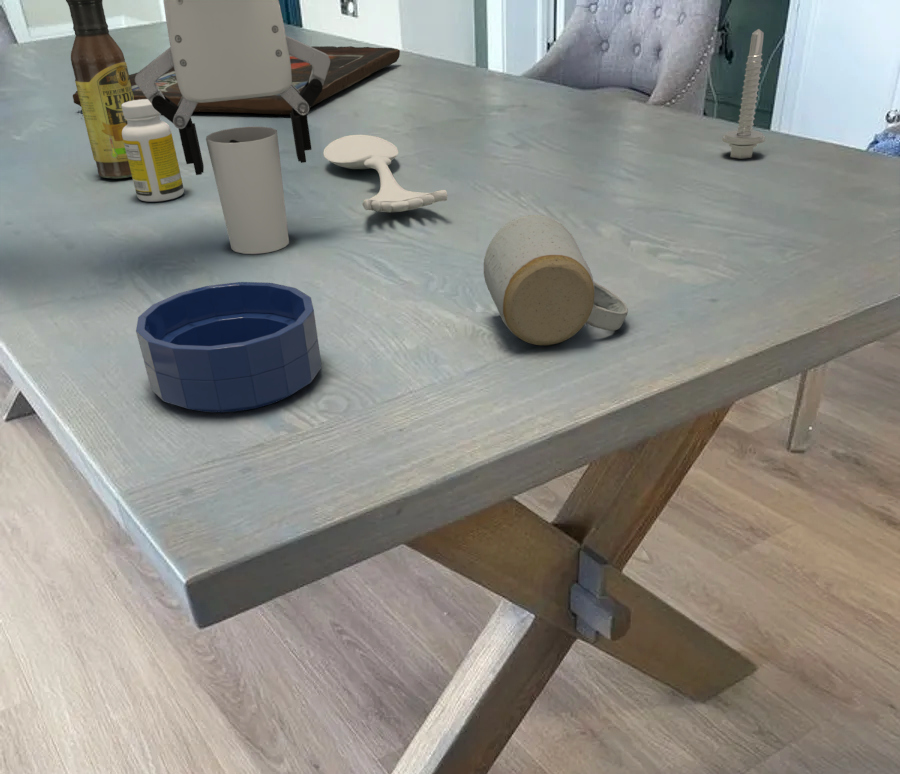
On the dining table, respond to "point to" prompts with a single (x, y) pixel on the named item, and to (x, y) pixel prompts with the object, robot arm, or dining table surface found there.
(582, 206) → the dining table surface
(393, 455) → the dining table surface
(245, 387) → the bowl
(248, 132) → the white cylindrical cup
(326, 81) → the religious icon
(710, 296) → the dining table surface
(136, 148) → the supplement bottle
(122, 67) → the sauce bottle
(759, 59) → the screw
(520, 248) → the ceramic mug
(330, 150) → the cream back scratcher
